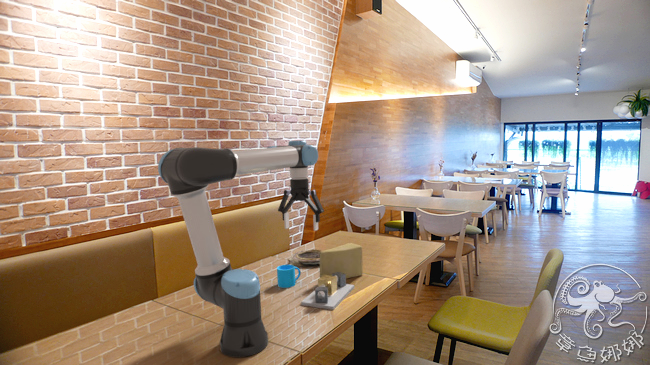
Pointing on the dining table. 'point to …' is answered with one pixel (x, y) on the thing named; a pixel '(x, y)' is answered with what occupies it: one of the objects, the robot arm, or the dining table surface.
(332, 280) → the block
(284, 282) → the mug
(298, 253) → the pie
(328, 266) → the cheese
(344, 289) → the grey base plate
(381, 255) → the dining table surface
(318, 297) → the shaft left
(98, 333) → the dining table surface
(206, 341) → the dining table surface
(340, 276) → the shaft right
